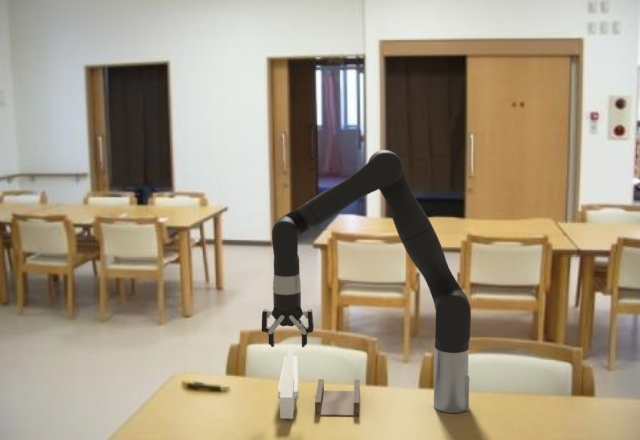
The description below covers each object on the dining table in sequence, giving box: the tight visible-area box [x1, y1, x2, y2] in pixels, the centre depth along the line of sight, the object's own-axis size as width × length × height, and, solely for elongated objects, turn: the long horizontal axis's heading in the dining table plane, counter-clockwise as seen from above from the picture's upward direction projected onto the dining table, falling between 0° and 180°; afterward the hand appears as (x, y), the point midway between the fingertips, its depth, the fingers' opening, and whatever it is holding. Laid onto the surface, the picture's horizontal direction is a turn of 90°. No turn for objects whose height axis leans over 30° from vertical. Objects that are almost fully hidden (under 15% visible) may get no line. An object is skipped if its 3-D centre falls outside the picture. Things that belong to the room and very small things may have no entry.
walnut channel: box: [314, 378, 361, 417], centre depth 203 cm, size 12×16×4 cm
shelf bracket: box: [277, 348, 300, 420], centre depth 204 cm, size 6×25×13 cm, turn 179°
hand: (288, 346), depth 200 cm, fingers open, 8 cm apart
